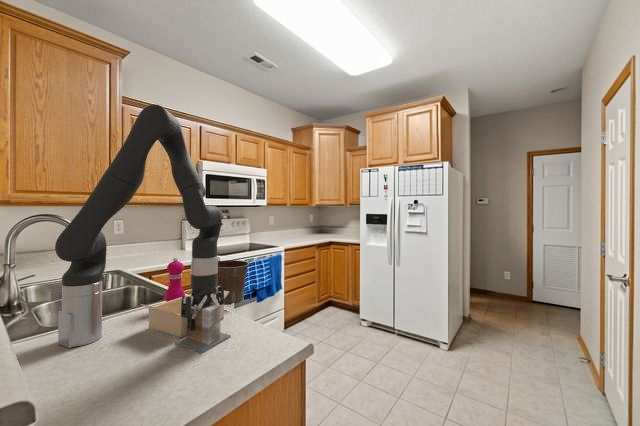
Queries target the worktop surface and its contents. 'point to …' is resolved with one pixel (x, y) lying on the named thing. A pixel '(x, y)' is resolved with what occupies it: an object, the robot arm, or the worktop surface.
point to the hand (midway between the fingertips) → (203, 325)
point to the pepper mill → (174, 280)
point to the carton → (172, 317)
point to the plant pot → (232, 279)
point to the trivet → (200, 346)
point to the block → (206, 325)
